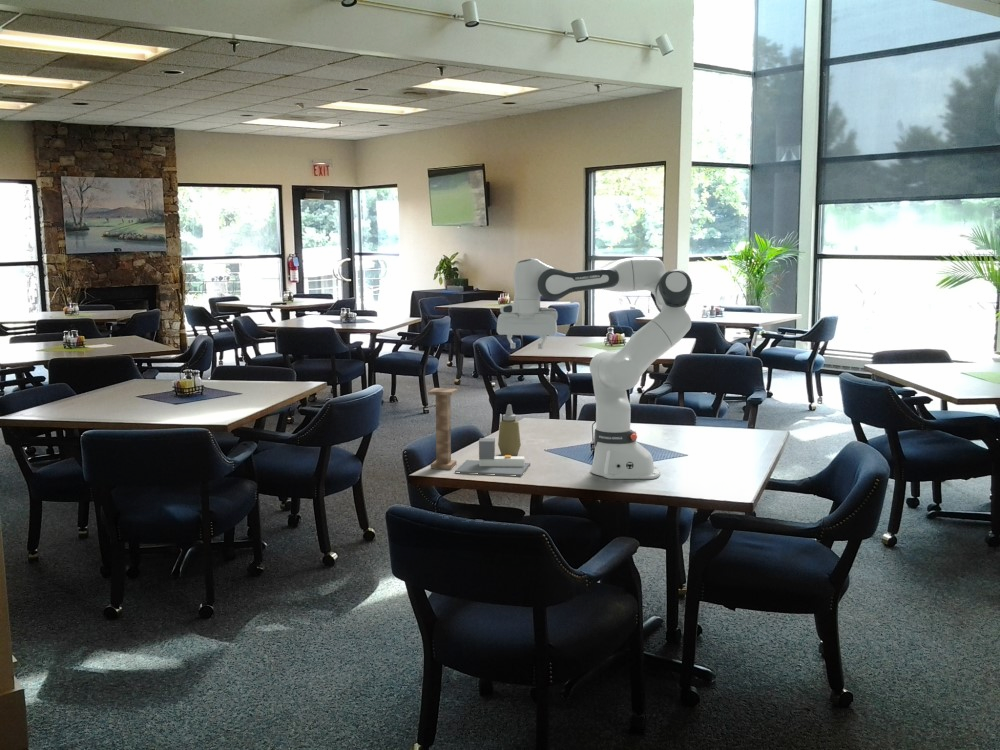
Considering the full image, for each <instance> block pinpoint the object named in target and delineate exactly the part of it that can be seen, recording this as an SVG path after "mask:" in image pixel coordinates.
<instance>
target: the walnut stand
mask: <svg viewBox="0 0 1000 750" xmlns="http://www.w3.org/2000/svg"><path fill="white" fill-rule="evenodd" d="M458 389H459V388H449V387H434V388H432V389H431V390H428V391H427V395H429V396H430V395H432V396H435V454H436V455H435V459H436V460H434V461H433V462H432V463H430V469H431V468H434V469H433V470H446V469H451V470H453V469H454V468H455V467H456V466H457V460H452V441H451V440H452V438H451V437H452V431H451V430H452V425H451V424H452V423H451V422H452V421H451V420H452V417H451V416H452V415H451V412H452V411H451V396H453V395H455V394H456V393H458V391H459V390H458ZM455 465H456V466H455ZM454 466H455V467H454ZM453 467H454V468H453ZM452 468H453V469H452Z"/></svg>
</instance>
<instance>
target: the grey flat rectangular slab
mask: <svg viewBox="0 0 1000 750" xmlns="http://www.w3.org/2000/svg"><path fill="white" fill-rule="evenodd" d="M530 466H531V462H525V465H524V467H523V466H479V459H478V460H476V459H466V460H465V461H464V462H463V463H462V464H461V465H459V467H458V468H457V469H455V470H454V473H455V472H460V473H478V474H495V475H494V476H497V475H516V476H515V477H517V476H522V477H523V475H524V474H525V473H526V471H528V469H529V468H528V467H530ZM524 472H525V473H524ZM523 473H524V474H523ZM478 474H477V475H478Z"/></svg>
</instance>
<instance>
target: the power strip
mask: <svg viewBox="0 0 1000 750" xmlns="http://www.w3.org/2000/svg"><path fill="white" fill-rule="evenodd" d="M525 460H526V458H525V456H521V455H520V456H519V455H516V456H511V455H505V456H503V455H496V438H493V437H489V438H488V437H487V438H486V437H479V440H478V461H479V466H523V467H524V465H525V463H526V462H525Z"/></svg>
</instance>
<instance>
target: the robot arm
mask: <svg viewBox="0 0 1000 750" xmlns="http://www.w3.org/2000/svg"><path fill="white" fill-rule="evenodd" d="M513 288H514V296H513V302H510V303H508V304H504V305H502V306H500V307H499V311H500V314H499V315H498V317H497V322H496V333H497V334H498V335H499V336H500V335H501V336H506V339H507V340H508V342H509V344H510V345H509V346H510V348H509V349H516V348H517V347H516V344H517V343H516V342H514V341H513V339H512V338H513V336H540V337H541V339H542V340H541V342H539V343H538V344H537V349H538V350H544V343H545V342H546V340H547V336H548V337H549V336H550V337H551V336H553V337H554V336H556V335H557V334H558V325H557V321H558V318H559V313H558V311H557V310H556V309H555V308H553V307H541V296H542V297H543V298H545V299H547V300H549V301H557V300H561V299H562V298H564V297H565V296H567V295H569V294H571V293H576V292H582V291H583V292H584V291H585V292H586V291H591V290H593V291H594V290H605V291H610V292H617V293H619V292H621V293H622V292H623V293H624V292H637V291H649V292H650V297H651V298H652V300H653V303H654V305H655V308H656V309H657V310H658V311H659V313H658V314H657V315H656V316H655V317H654V318H652V319H650V320H649V322H647V323H646V324H645V325H643V326H642V327H640V328H639V329H638V330H637V331H635V332H634V333H632V335H631V336H630V337H629V339H628V341H627V342H626V344H625V345H624V346H623V347H622V348H621V349H620V350H619V351H616V352H614V351H607V350H606V351H602V352H598V353H596V354H595V355H594V356H593V357H592V359H591V360H590V362H589V371H590V374H591V378H592V386H593V392H594V398H595V409H596V410H595V423H596V424H595V427H596V428H595V429H594V433H593V435H594V436H593V437H594V438H593V441H594V442H593V443H594V454H593V455H594V456H593V460H592V464H591V468H590V470H589V471H590V473H592V474H593V475H597V476H601V477H603V478H605V479H613V480H614V479H616V480H622V479H624V480H625V479H627V480H629V479H630V480H631V479H632V480H634V479H635V480H640V479H642V480H643V479H644V480H653V479H657V478H659V477H660V476H661V469H660V468H659V467H657V466H655V464H654V459H653V458H654V457H653V456H652V454H651V452H650V451H649V450H648V449H646V448H645V447H644V446H643V445H642V444H640V443H639V442H637V439H638V435H637V432H636V430H632V429H631V409H632V407H631V403H630V400H629V397H628V392H627V390H630V389H633V388H634V387H636V386H637V384H638V383H639V381H640V378H641V376H643V374H644V373H645V372H646V371H647V370H648V368H649V367H650V366H651V365H652V364H653V363H654V362H655V361H656V360H657V359H659V358H660V357H661V356H663V355H664V354H665V353H667V351H669V350H670V349H671V348H673V347H674V346H675V345H677V344H678V343H679V342H680V341H681V339H683V338H684V337H685V336H686V334H687V333H688V332H689V331H690V329H691V327H692V318H691V317H690V315H689V313H688V312H687V311H686V309H685V308H686V306H687V304H688V302H689V301H690V297H691V293H692V290H693V282H692V279H691V277H690V276H689V274H688V273H687V272H686V271H684V270H682V269H671V270H668V271H666V267H665V264H664V262H663V261H662V260H661V259H660V258H658V257H652V256H651V257H648V256H639V257H638V256H636V257H626V258H620V259H616V260H613V261H610V262H608V263H606V264H605V265H603V266H601V267H599V268H595V269H591V270H582V271H574V272H571V271H570V272H569V271H564V270H562V269H559V268H557V267H556V268H555V267H552V266H550V265H547V263H544V262H543V261H540V260H539V259H538V258H535V257H532V258H526V259H522V260H520V261H518V262H517V263H516V264H515V266H514V273H513ZM659 475H660V476H659Z"/></svg>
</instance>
